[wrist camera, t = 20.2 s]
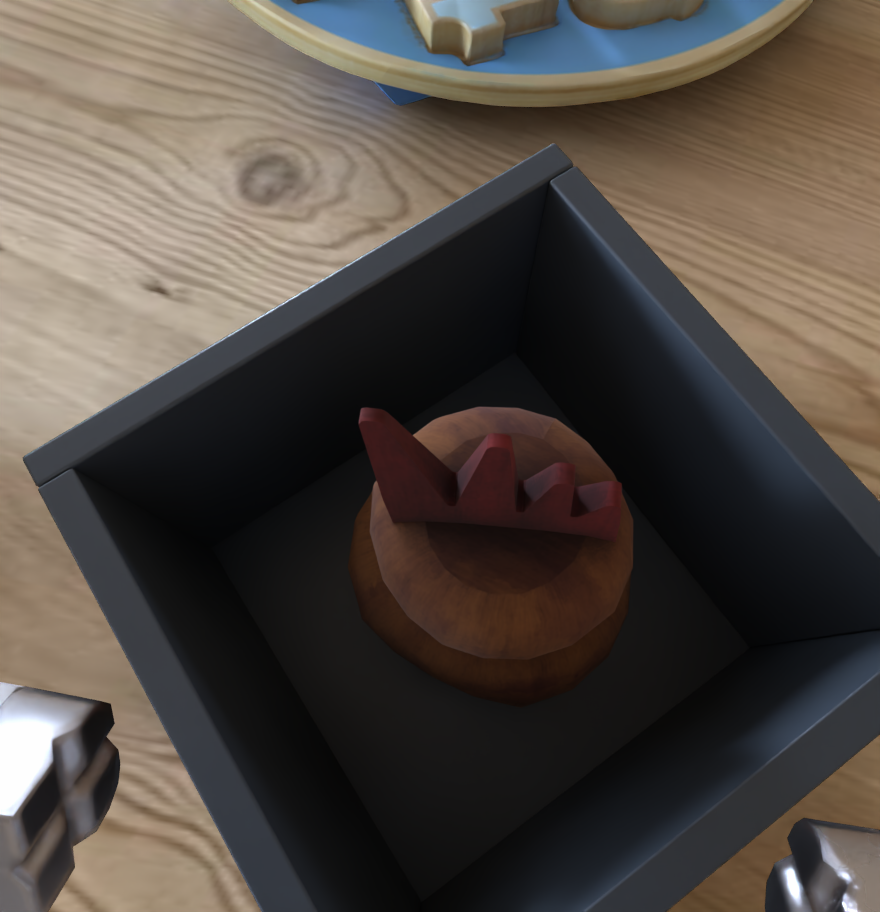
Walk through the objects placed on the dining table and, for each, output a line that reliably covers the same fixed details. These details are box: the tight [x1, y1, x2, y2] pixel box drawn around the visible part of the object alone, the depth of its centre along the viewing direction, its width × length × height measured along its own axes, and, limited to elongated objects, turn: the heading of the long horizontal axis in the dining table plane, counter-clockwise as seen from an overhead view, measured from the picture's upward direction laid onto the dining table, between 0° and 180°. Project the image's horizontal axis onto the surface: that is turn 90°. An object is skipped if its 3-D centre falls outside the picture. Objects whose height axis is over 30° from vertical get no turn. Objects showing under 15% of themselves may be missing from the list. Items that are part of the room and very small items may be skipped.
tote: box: [23, 144, 880, 912], centre depth 19 cm, size 14×14×10 cm
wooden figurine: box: [348, 407, 633, 708], centre depth 15 cm, size 7×6×15 cm
